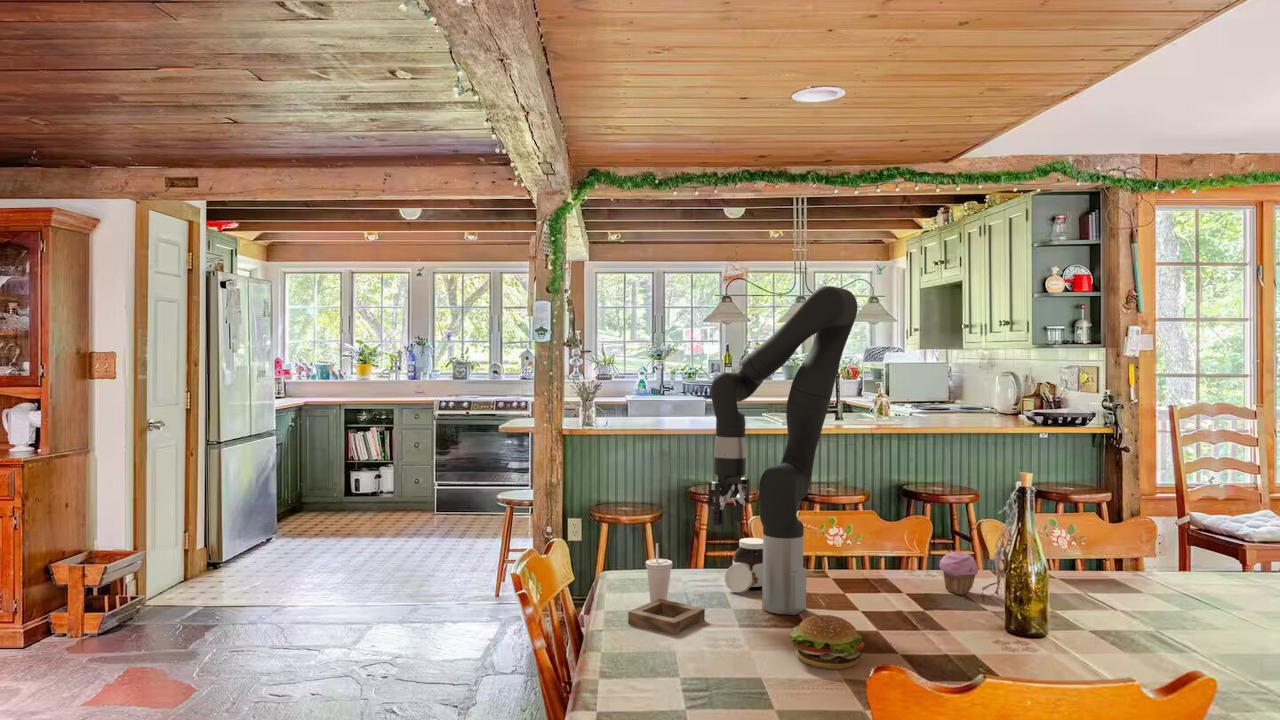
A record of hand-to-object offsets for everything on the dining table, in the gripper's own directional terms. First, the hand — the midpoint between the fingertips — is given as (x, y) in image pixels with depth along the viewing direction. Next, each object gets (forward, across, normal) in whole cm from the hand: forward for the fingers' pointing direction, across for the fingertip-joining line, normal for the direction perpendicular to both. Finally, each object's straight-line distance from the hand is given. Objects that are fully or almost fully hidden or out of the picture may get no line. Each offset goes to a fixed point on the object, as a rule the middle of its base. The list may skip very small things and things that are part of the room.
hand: (728, 523), depth 193 cm
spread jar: (+18, +12, +1) cm, 21 cm away
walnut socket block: (+19, -22, +1) cm, 29 cm away
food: (+20, -19, -35) cm, 44 cm away
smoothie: (+19, -13, +10) cm, 25 cm away
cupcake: (+17, +45, -39) cm, 62 cm away
